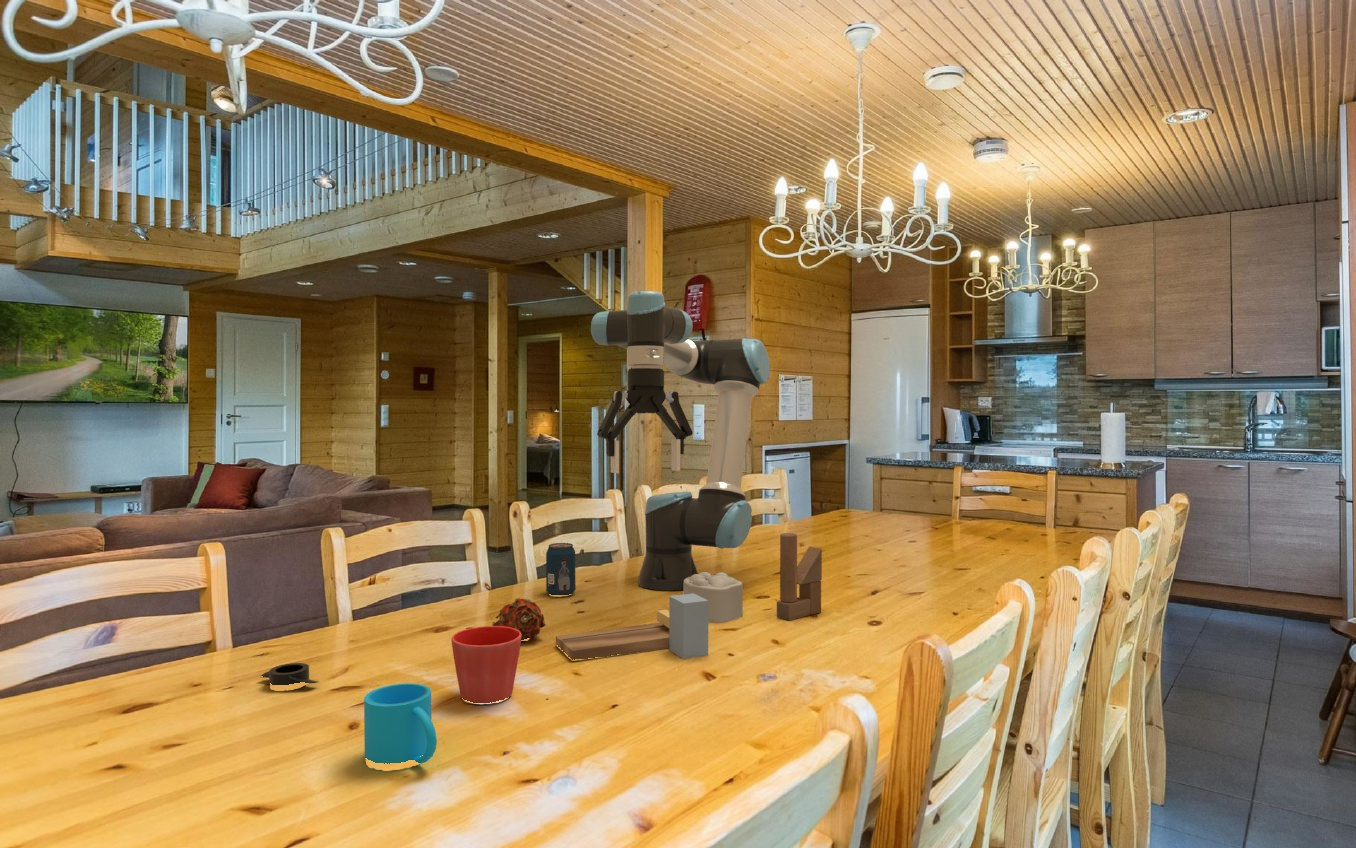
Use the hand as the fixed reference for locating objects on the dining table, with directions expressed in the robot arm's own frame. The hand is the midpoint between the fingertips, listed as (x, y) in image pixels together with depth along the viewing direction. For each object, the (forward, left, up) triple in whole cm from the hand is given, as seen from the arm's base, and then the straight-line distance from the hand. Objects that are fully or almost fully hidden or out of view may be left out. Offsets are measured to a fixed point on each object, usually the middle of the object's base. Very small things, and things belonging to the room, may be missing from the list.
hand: (645, 471), depth 162 cm
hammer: (+15, 0, -32) cm, 35 cm away
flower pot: (+26, -38, -32) cm, 56 cm away
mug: (+44, -52, -32) cm, 75 cm away
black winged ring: (+7, -66, -32) cm, 74 cm away
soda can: (-33, -8, -32) cm, 47 cm away
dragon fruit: (-2, -26, -32) cm, 41 cm away
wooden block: (+7, +33, -32) cm, 46 cm away
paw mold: (-2, +16, -32) cm, 36 cm away
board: (+11, -8, -32) cm, 34 cm away
